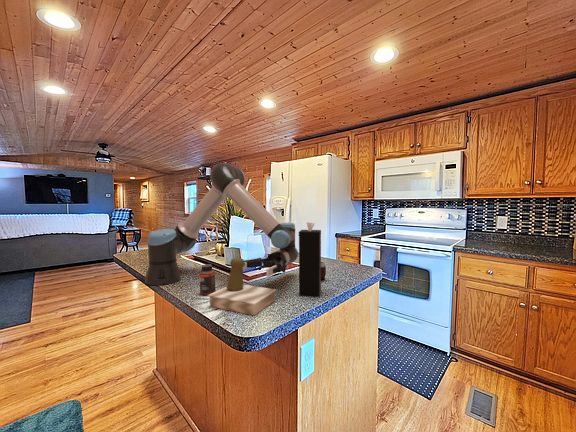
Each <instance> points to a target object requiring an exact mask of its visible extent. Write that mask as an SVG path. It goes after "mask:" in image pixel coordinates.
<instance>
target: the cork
mask: <svg viewBox="0 0 576 432" xmlns="http://www.w3.org/2000/svg"><path fill="white" fill-rule="evenodd" d="M244 265H245V260H244V259H243V258H240V257H234V258H232V259H230V268H231V269H230V272H229V277H228V281H227V285H226V287H227V289H230V290H242V289H243V285H244V275H243V272H244V270H243V267H244Z"/></svg>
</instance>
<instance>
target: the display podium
mask: <svg viewBox="0 0 576 432" xmlns="http://www.w3.org/2000/svg"><path fill="white" fill-rule="evenodd" d="M276 292H277V289H275V288H269V287H264V286H263V287H262V286H254V285H248V284H243V289H242V290H230V289H227V286H224V287H222V288H220V289H218V290H215V292H214V293H211V294H209V295H207V297H209V306H210V307H212V308H217V309H221V310H227V311H231V312H235V313H240V314H241V313H242V314H245V315H251V316H255V315H257V314H259V312H261V311H262V310H264V309H266V307H268V306H269V305H271V304H272V303H273V302H275V301H276Z"/></svg>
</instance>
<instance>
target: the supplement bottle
mask: <svg viewBox="0 0 576 432" xmlns="http://www.w3.org/2000/svg"><path fill="white" fill-rule="evenodd" d="M216 291H217V290H216V271H215V270H214V269H213V265H212V263H211V264H210V263H207V264H202V265H201V270H200V271H199V294H200V295H202V296H208V295H209V294H211V293H214V292H216Z"/></svg>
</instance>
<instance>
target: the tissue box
mask: <svg viewBox="0 0 576 432" xmlns="http://www.w3.org/2000/svg"><path fill="white" fill-rule="evenodd" d="M314 226H315V223H314V222H306V227H307V229H301V230H299V231H298V253H299V255H298V279H299V280H298V289H299V291H298V292H299V293H298V295H299V296H305V297H306V296H307V297H320V295H321V292H322V280H321V262H322V230H321V229H313V227H314Z"/></svg>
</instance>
